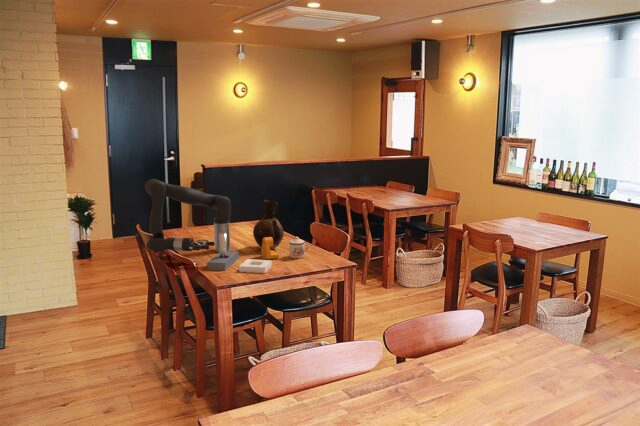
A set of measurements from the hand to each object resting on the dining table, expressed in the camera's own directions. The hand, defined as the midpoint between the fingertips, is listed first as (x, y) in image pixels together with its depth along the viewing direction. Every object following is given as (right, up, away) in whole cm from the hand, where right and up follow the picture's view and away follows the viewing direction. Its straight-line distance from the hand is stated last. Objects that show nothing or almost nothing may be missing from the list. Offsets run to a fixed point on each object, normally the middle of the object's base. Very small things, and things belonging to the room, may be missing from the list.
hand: (211, 245), depth 313 cm
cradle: (+25, -12, -8) cm, 29 cm away
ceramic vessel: (+28, -4, +35) cm, 45 cm away
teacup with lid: (+48, -8, +17) cm, 51 cm away
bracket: (+31, -8, +15) cm, 35 cm away
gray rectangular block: (+6, -10, +1) cm, 12 cm away
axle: (+6, -10, +1) cm, 12 cm away
